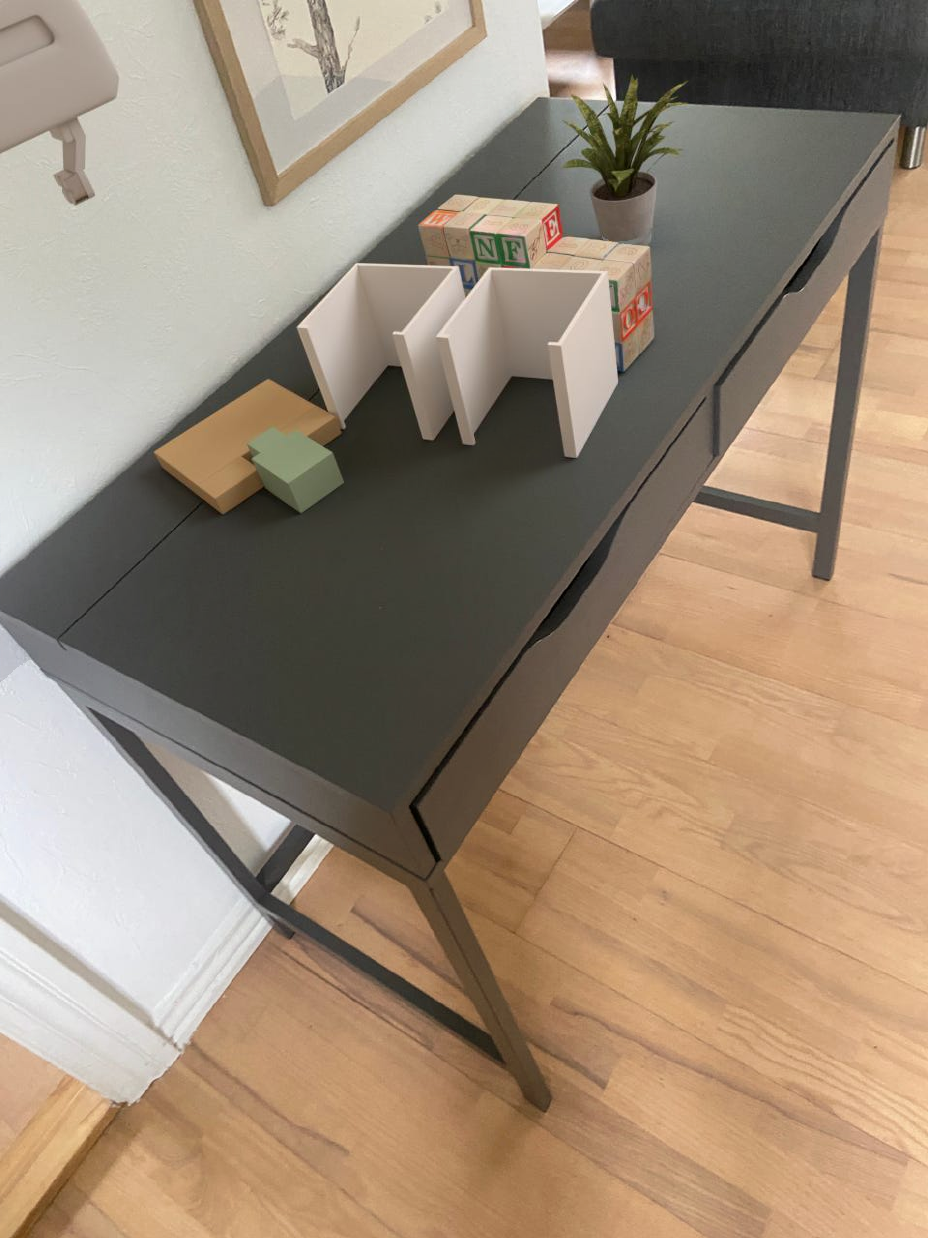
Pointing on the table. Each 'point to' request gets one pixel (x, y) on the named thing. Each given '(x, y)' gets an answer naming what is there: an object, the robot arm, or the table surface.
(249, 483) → the sand pad
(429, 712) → the table surface
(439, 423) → the open dividers
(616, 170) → the house plant
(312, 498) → the sage block
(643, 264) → the stack of blocks
